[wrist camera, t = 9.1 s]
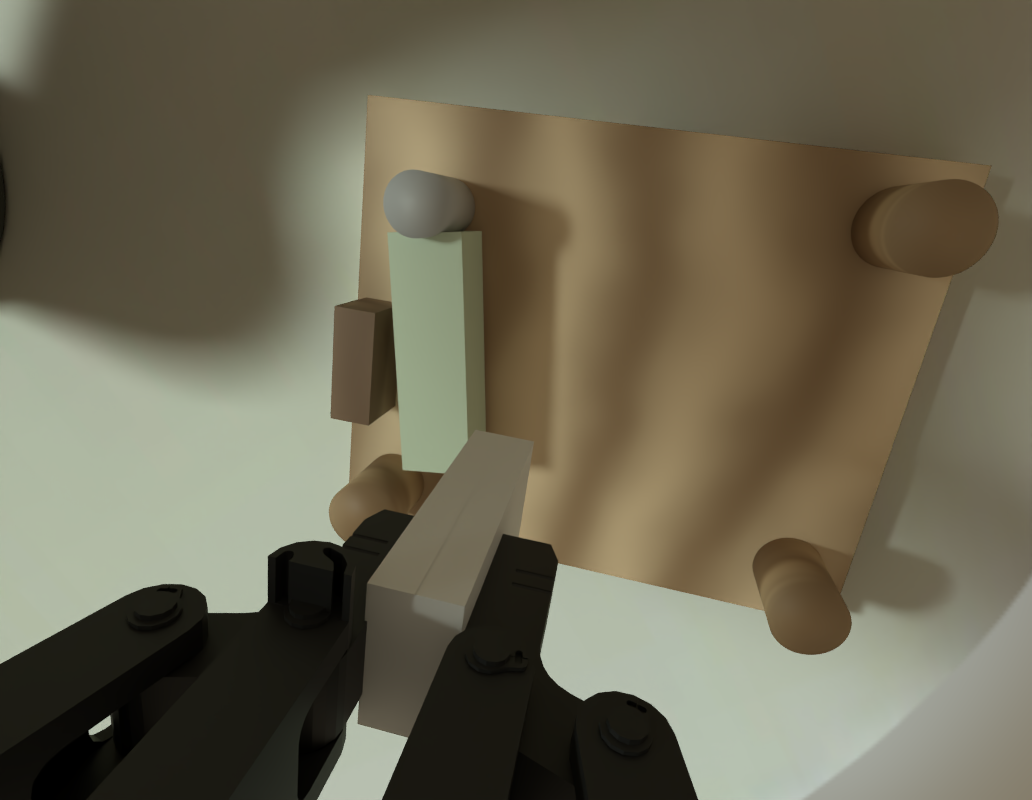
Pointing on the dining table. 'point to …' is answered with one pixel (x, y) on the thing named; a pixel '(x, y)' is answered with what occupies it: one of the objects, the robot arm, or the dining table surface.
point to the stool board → (673, 341)
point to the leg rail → (436, 316)
